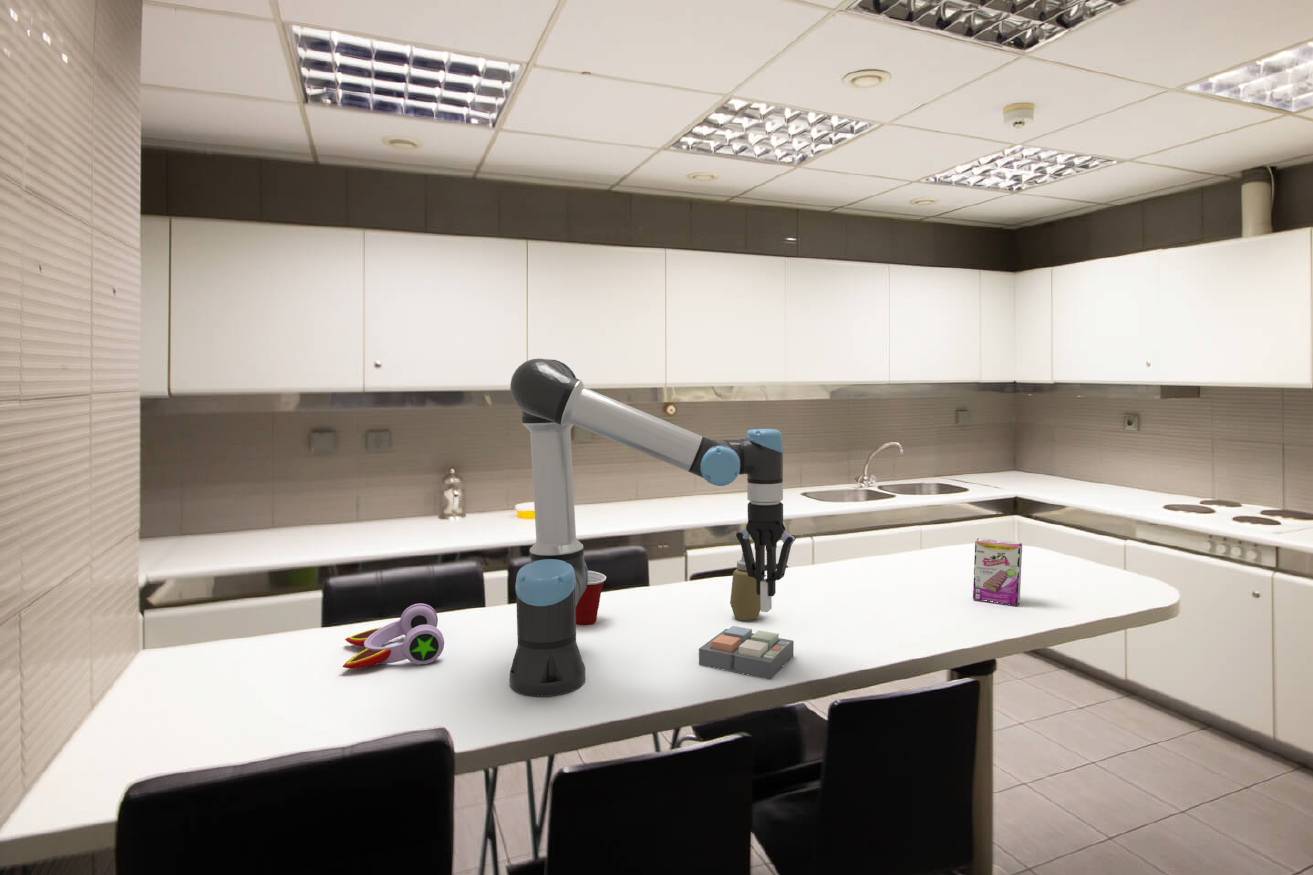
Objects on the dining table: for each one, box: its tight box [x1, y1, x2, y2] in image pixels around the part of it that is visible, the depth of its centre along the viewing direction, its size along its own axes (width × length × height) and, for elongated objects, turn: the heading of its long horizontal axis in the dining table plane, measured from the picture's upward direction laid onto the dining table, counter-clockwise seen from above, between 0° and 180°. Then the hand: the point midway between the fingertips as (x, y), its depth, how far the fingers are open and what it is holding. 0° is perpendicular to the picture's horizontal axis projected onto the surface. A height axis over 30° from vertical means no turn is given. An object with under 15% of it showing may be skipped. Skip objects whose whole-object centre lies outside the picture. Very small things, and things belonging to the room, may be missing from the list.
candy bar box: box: [972, 537, 1023, 607], centre depth 196 cm, size 11×5×16 cm, turn 58°
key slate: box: [724, 625, 753, 643], centre depth 161 cm, size 5×5×3 cm
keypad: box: [698, 628, 795, 680], centre depth 157 cm, size 14×16×4 cm
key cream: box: [739, 639, 768, 658], centre depth 153 cm, size 5×5×3 cm
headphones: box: [342, 603, 445, 669], centre depth 163 cm, size 20×10×20 cm
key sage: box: [751, 630, 779, 648], centre depth 158 cm, size 5×5×3 cm
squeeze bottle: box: [729, 553, 761, 622], centre depth 184 cm, size 8×8×18 cm
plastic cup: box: [576, 570, 607, 627], centre depth 182 cm, size 11×11×12 cm
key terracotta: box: [712, 635, 740, 653], centre depth 156 cm, size 5×5×3 cm
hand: (766, 609), depth 158 cm, fingers closed
